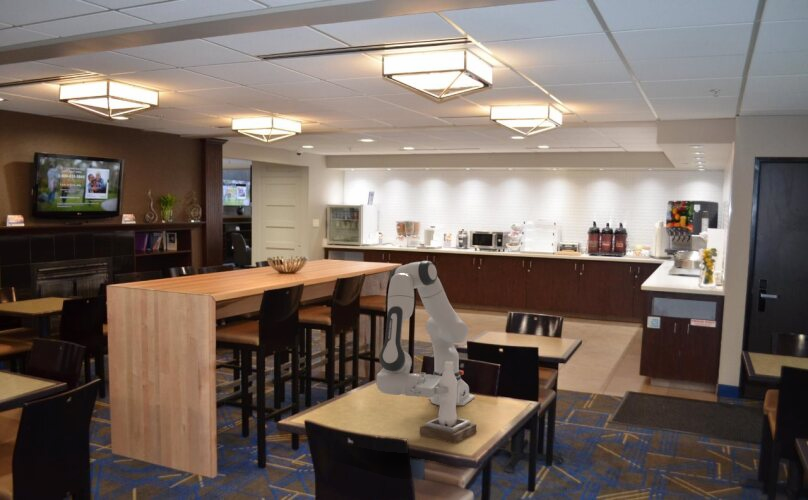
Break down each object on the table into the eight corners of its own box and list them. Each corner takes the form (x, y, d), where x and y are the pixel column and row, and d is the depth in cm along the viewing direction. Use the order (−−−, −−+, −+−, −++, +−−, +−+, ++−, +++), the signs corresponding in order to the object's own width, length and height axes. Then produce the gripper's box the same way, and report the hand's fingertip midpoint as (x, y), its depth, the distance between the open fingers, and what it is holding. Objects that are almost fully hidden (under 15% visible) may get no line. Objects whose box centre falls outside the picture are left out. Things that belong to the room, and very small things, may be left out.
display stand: (442, 424, 264) (442, 413, 264) (476, 431, 255) (476, 420, 255) (419, 434, 251) (419, 423, 251) (454, 443, 242) (454, 431, 242)
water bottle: (437, 422, 256) (438, 359, 255) (455, 422, 257) (456, 360, 255) (439, 428, 249) (440, 364, 248) (457, 428, 250) (459, 364, 248)
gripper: (408, 383, 246) (444, 386, 242) (422, 371, 265) (455, 373, 261) (408, 400, 246) (444, 402, 242) (422, 386, 266) (455, 389, 262)
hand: (450, 387), depth 252 cm, fingers closed on water bottle, 7 cm apart
